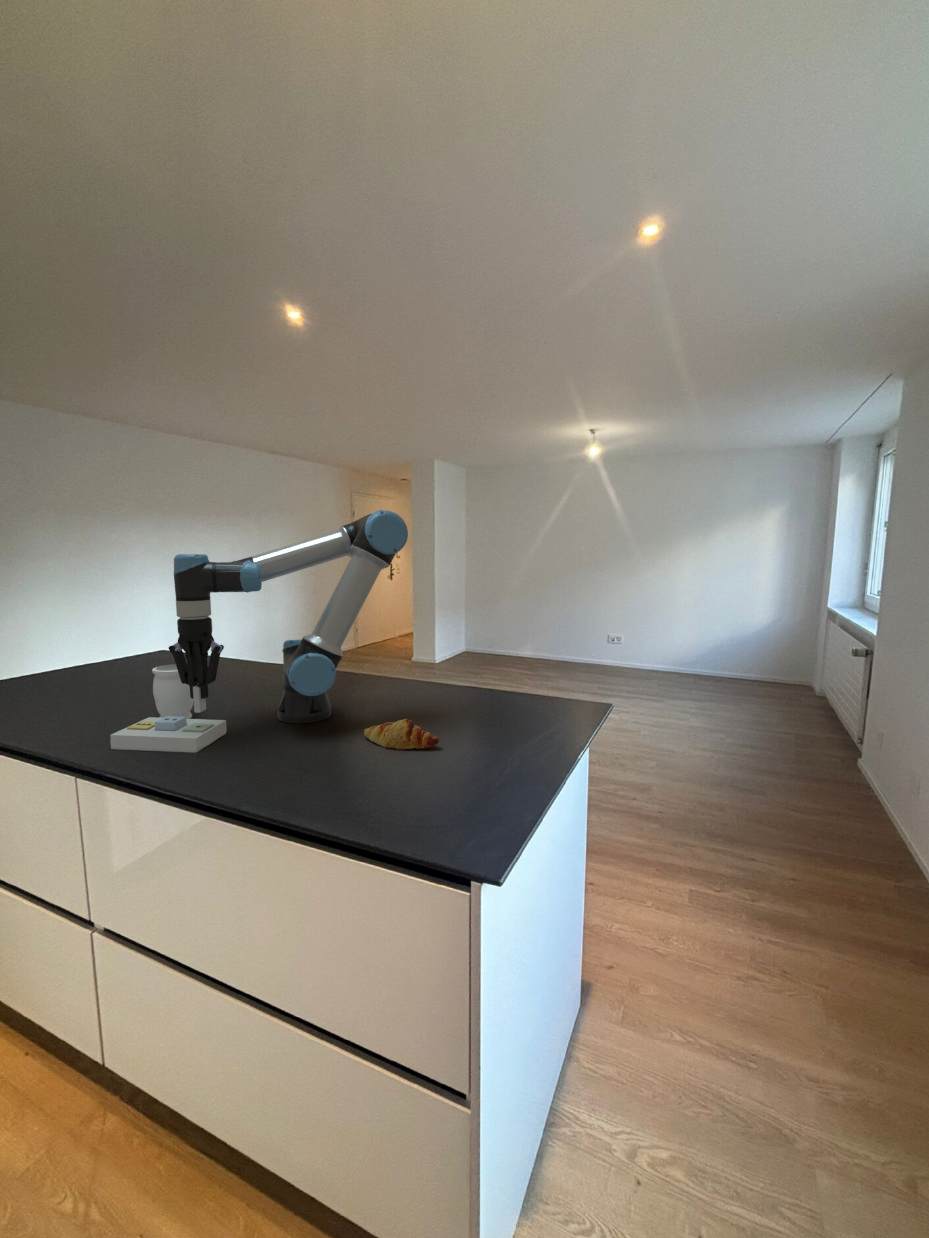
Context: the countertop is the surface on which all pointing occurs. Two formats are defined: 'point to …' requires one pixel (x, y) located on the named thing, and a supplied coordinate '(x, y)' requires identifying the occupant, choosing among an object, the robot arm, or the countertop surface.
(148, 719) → the button board
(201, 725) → the tile one
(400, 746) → the croissant
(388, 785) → the countertop surface
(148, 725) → the tile three
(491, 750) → the countertop surface
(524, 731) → the countertop surface
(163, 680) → the jar
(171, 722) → the tile two
